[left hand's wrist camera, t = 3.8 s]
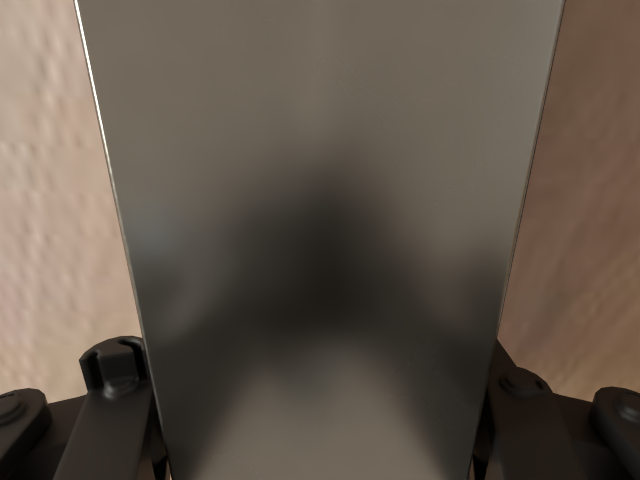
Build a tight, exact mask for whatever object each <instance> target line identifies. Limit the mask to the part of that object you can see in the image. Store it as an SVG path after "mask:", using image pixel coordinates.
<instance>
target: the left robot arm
mask: <svg viewBox="0 0 640 480" xmlns="http://www.w3.org/2000/svg"><path fill="white" fill-rule="evenodd" d="M79 362H80V366H81V369H82V373H83V376H84V380H85V383H86V387H87V390H88V392H87V395H83V396H80V397H76V398H72V399H67V400H63V401H58V402H54V403H50V404H48V403H47V400H46V397H45V394H44V393H42V392H41V391H40V390H38V389H31V388H26V389H19V390H14V391H11V392H8V393H5V394H2V395H0V480H170V469H169V464H168V459H167V454H166V449H165V444H164V440H163V435H162V430H161V425H160V420H159V415H158V410H157V406H156V401H155V396H154V391H153V386H152V381H151V376H150V372H149V367H148V362H147V357H146V352H145V347H144V342H143V339H142V338H140V337H135V336H120V337H116V338H112V339H108V340H105V341H103V342H101V343H98V344H96V345H94V346H93V347H92V348H90V349H89V350H87V351H86V352H85V353H84V354H83V355H82V357H81V358H80V359H79ZM468 480H640V393H638V392H635V391H632V390H629V389H626V388H619V387H605V388H601V389H600V390H598V391H597V392H596V393H595V396H594V399H593V402H589V401H584V400H580V399H575V398H571V397H566V396H562V395H559V394H555V393H553V392H552V390H551V389H550V387H549V386H548V384H547V383H546V382H545V381H544V380H543V379H541V378H540V377H539V376H538V375H536V374H534V373H532V372H530V371H528V370H526V369H524V368H520V367H517V366H516V365H515V363H514V362H513V361H512V359H511V358H510V356H509V355H508V354H507V352H506V351H505V349H504V348H503V347H502V345H501V344H500V342H499V341H498V340H496V345H495V349H494V354H493V359H492V364H491V369H490V374H489V379H488V384H487V389H486V394H485V399H484V403H483V408H482V413H481V418H480V423H479V428H478V433H477V438H476V443H475V448H474V453H473V457H472V462H471V467H470V472H469V477H468Z"/></svg>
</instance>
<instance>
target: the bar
mask: <svg viewBox="0 0 640 480" xmlns="http://www.w3.org/2000/svg"><path fill="white" fill-rule="evenodd" d="M565 1H566V0H73V2H74V7H75V12H76V17H77V22H78V26H79V31H80V36H81V41H82V46H83V51H84V56H85V60H86V65H87V70H88V75H89V80H90V85H91V90H92V95H93V99H94V104H95V109H96V114H97V119H98V124H99V129H100V133H101V138H102V143H103V148H104V153H105V158H106V163H107V167H108V172H109V177H110V182H111V187H112V192H113V197H114V201H115V206H116V211H117V216H118V221H119V226H120V231H121V235H122V240H123V245H124V250H125V255H126V260H127V265H128V270H129V274H130V279H131V284H132V289H133V294H134V299H135V304H136V308H137V313H138V318H139V323H140V328H141V333H142V338H143V342H144V347H145V352H146V357H147V362H148V367H149V372H150V376H151V381H152V386H153V391H154V396H155V401H156V406H157V410H158V415H159V420H160V425H161V430H162V435H163V440H164V444H165V449H166V454H167V459H168V464H169V469H170V474H171V479H172V480H468V477H469V472H470V467H471V462H472V457H473V453H474V448H475V443H476V438H477V433H478V428H479V423H480V418H481V413H482V408H483V403H484V399H485V394H486V389H487V384H488V379H489V374H490V369H491V364H492V359H493V354H494V349H495V345H496V340H497V335H498V330H499V325H500V320H501V315H502V310H503V305H504V300H505V296H506V291H507V286H508V281H509V276H510V271H511V266H512V261H513V256H514V251H515V246H516V242H517V237H518V232H519V227H520V222H521V217H522V212H523V207H524V202H525V197H526V192H527V188H528V183H529V178H530V173H531V168H532V163H533V158H534V153H535V148H536V143H537V138H538V134H539V129H540V124H541V119H542V114H543V109H544V104H545V99H546V94H547V89H548V84H549V80H550V75H551V70H552V65H553V60H554V55H555V50H556V45H557V40H558V35H559V30H560V26H561V21H562V16H563V11H564V6H565Z"/></svg>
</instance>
